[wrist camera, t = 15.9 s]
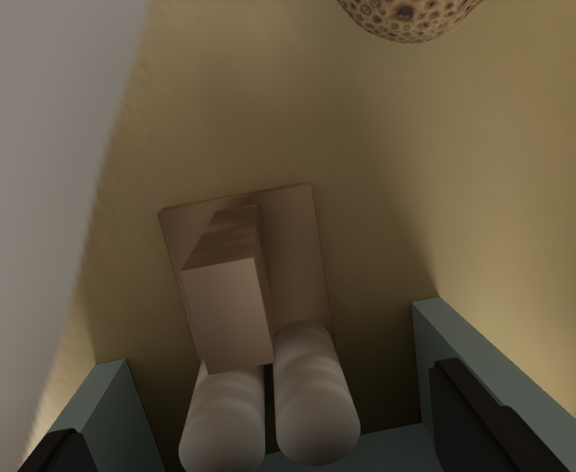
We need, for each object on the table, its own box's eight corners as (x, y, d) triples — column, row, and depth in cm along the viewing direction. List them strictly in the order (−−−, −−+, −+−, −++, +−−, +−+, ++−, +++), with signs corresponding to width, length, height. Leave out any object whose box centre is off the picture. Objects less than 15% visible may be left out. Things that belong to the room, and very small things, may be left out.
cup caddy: (308, 181, 22) (351, 224, 11) (337, 371, 26) (389, 533, 15) (164, 207, 22) (72, 275, 11) (215, 394, 26) (183, 575, 15)
